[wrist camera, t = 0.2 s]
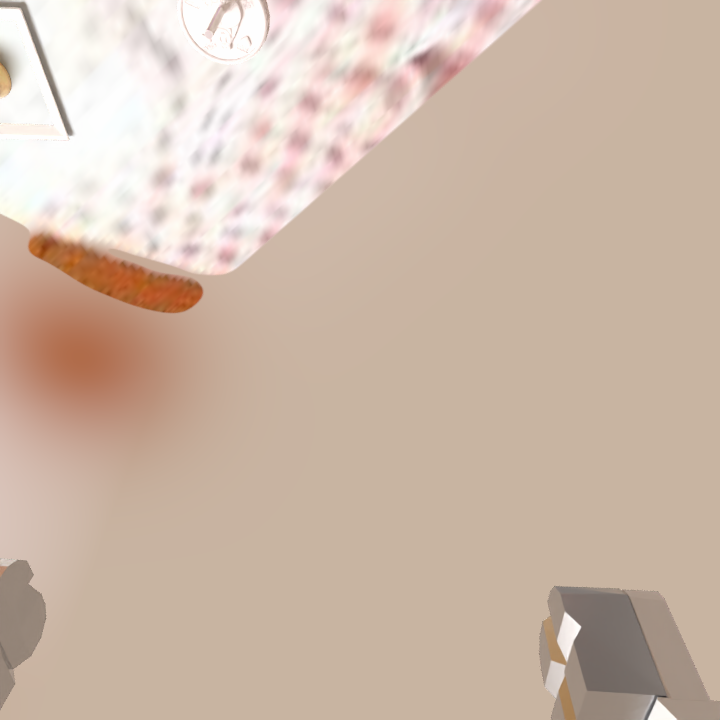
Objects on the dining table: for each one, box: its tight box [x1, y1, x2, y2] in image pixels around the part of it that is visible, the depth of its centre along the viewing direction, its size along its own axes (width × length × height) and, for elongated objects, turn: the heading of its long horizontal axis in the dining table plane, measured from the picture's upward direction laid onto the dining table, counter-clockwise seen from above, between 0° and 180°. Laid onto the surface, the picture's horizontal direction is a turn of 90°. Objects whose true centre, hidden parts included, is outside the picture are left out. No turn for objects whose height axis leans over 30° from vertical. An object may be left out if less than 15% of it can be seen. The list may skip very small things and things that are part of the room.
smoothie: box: [177, 0, 270, 64], centre depth 44 cm, size 6×6×14 cm
